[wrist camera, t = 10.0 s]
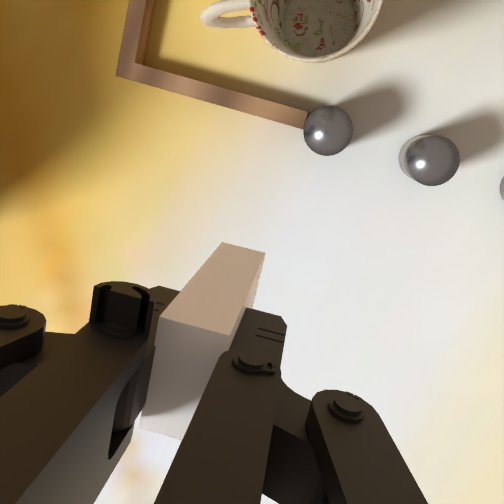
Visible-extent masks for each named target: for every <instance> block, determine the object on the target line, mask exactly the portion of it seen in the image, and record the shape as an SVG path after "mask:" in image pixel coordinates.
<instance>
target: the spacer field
mask: <svg viewBox="0 0 504 504" xmlns="http://www.w3.org/2000/svg"><path fill="white" fill-rule="evenodd" d="M352 131H353V129H352V123H351V120H350V118H349V116H348V115H347V114H346V113H345V112H344V111H343V110H342V109H340V108H338V107H335V106H323V107H320V108H318V109H316V110H315V111H313V112H312V113H311V114H310V115H309V117H308V118H307V120H306V122H305V125H304V138H305V141H306V143H307V145H308V147H309V148H310V149H311V150H312V151H314V152H315V153H317V154H320V155H324V156H330V155H335V154H337V153H339V152H341V151H342V150H343V149H345V148H346V146H347V145H348V144H349V142H350V140H351V137H352ZM459 162H460V156H459V151H458V149H457V147H456V146H455V144H454V143H453V142H452V141H450V140H449V139H447V138H445V137H442V136H430V135H420V136H415V137H413V138H411V139H409V140H408V141H407V142H406V143H405V144H404V145H403V147H402V148H401V150H400V153H399V164H400V167H401V169H402V171H403V172H404V173H405V174H406V175H407V176H409V177H411V178H412V179H414V180H416V181H417V182H419V183H421V184H423V185H427V186H437V185H441V184H443V183H445V182H447V181H448V180H450V179H451V178H452V177H453V176H454V174H455V173H456V171H457V169H458V167H459ZM500 194H501V197H502V199H503V200H504V177H503V179H502V181H501V184H500Z"/></svg>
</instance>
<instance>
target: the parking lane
mask: <svg viewBox="0 0 504 504" xmlns="http://www.w3.org/2000/svg"><path fill="white" fill-rule="evenodd" d="M154 4H155V0H129V5H128V10H127V16H126V21H125V27H124V32H123V38H122V44H121V49H120V55H119V60H118V66H117V72H116V76H119V77H122V78H126V79H129V80H133V81H136V82H140V83H143V84H147V85H150V86H154V87H157V88H161V89H164V90H168V91H171V92H175V93H178V94H182V95H185V96H189V97H192V98H196V99H199V100H203V101H206V102H210V103H213V104H217V105H220V106H224V107H227V108H231V109H234V110H238V111H241V112H245V113H248V114H252V115H255V116H259V117H262V118H266V119H269V120H273V121H276V122H280V123H283V124H287V125H290V126H294V127H297V128H301V129H304V125H305V122H306V120H307V118H308V114H309V112H307V111H303V110H300V109H296V108H293V107H289V106H286V105H282V104H278V103H275V102H271V101H268V100H264V99H261V98H257V97H254V96H250V95H247V94H243V93H240V92H236V91H232V90H229V89H225V88H222V87H218V86H215V85H211V84H208V83H204V82H201V81H197V80H194V79H190V78H187V77H183V76H179V75H176V74H172V73H169V72H165V71H162V70H158V69H155V68H151V67H148V66H144V65H143V61H144V56H145V51H146V46H147V41H148V36H149V30H150V25H151V20H152V15H153V10H154Z"/></svg>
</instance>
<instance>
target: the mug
mask: <svg viewBox="0 0 504 504" xmlns="http://www.w3.org/2000/svg"><path fill="white" fill-rule="evenodd" d="M382 4H383V0H222V1H219V2H216V3H214V4H212V5H210V6H208V7H207V8H205V9H204V10H203V11H202V13H201V15H200V19H201V21H202V22H203V23H204V24H205V25H207V26H210V27H215V28H247V27H252V26H256V28H257V29H258V31H259V33H260V34H261V36H262V37H263V38H264V40H265V41H266V42H267V43H268V44H269V45H270V46H271V47H272V48H273V49H275V50H276V51H277V52H279V53H280V54H282V55H284V56H286V57H288V58H290V59H293V60H296V61H300V62H307V63H323V62H327V61H330V60H333V59H335V58H337V57H339V56H341V55H343V54H345V53H347V52H348V51H350V50H351V49H353V48H354V47H355V46H356V45H357V44H358V43H359V42H361V41H362V39H363V38H364V37H365V36H366V35H367V34H368V32H369V31H370V30H371V28H372V26H373V25H374V23H375V21H376V19H377V17H378V15H379V13H380V10H381V7H382ZM245 9H250V12H251V16H239V17H230V18H227V17H219V16H221V15H222V14H225V13H228V12H233V11H238V10H245Z"/></svg>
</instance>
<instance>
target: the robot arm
mask: <svg viewBox="0 0 504 504" xmlns="http://www.w3.org/2000/svg"><path fill="white" fill-rule="evenodd" d="M264 257H265V253H263V252H259V251H255V250H251V249H247V248H243V247H239V246H235V245H231V244H227V243H223V242H222V243H221V244H220V246H219V247H218V248H217V249H216V250H215V251H214V253H213V254H212V255H211V256H210V257H209V258H208V260H207V261H206V262H205V263H204V264H203V266H202V267H201V268H200V269H199V270H198V271H197V273H196V274H195V275H194V276H193V277H192V279H191V280H190V281H189V282H188V283H187V284H186V286H185V287H184V288H183V289H182V290H181V291H177V290H173V289H169V288H165V287H162V286H157V287H153V288H150V289H148V288H146V287H143V286H141V285H138V284H134V283H128V282H117V281H111V282H104V283H100V284H98V285H95V286H94V289H93V297H92V304H91V311H90V319H89V322H88V323H87V324H86V325H85V326H84V327H82V328H81V329H80V330H79V331H78V332H77V333H75V334H65V333H54V332H45V328H46V319H45V317H44V315H43V314H42V313H40V312H38V311H37V310H35V309H31V308H28V307H26V306H22V305H19V306H17V305H12V304H11V305H7V306H0V504H94V502H95V500H96V499H97V497H98V495H99V494H100V492H101V490H102V489H103V487H104V485H105V484H106V482H107V480H108V478H109V477H110V475H111V473H112V472H113V470H114V468H115V467H116V465H117V463H118V462H119V460H120V458H121V457H122V455H123V453H124V452H125V450H126V448H127V447H128V445H129V443H130V441H131V437H132V433H133V428H134V422H135V419H136V418H137V416H138V415H139V413H140V412H141V410H142V414H141V420H140V425H139V428H142V429H145V430H149V431H152V432H156V433H159V434H163V435H166V436H170V437H173V438H177V439H180V440H182V442H181V444H180V446H179V448H178V451H177V453H176V455H175V457H174V460H173V462H172V464H171V466H170V469H169V471H168V473H167V475H166V478H165V480H164V482H163V484H162V487H161V489H160V491H159V493H158V496H157V498H156V500H155V502H154V504H260V501H261V495H262V494H264V495H265V496H267V497H269V498H271V499H272V500H274V501H276V502H277V503H279V504H428V503H427V501H426V499H425V497H424V495H423V494H422V492H421V490H420V488H419V486H418V485H417V483H416V481H415V479H414V477H413V476H412V474H411V472H410V470H409V468H408V466H407V465H406V463H405V461H404V459H403V457H402V456H401V454H400V452H399V450H398V448H397V447H396V445H395V443H394V441H393V439H392V438H391V436H390V434H389V432H388V430H387V429H386V427H385V425H384V423H383V421H382V419H381V418H380V416H379V414H378V413H377V412H376V411H375V409H374V408H373V407H372V406H371V405H370V404H368V403H367V402H365V401H364V400H363V399H362V398H360V397H358V396H356V395H353V394H352V393H349V392H343V391H339V390H323V391H320V392H317V393H316V394H315V395H314V397H313V398H312V401H311V400H308V399H306V398H304V397H302V396H301V395H299V394H297V393H295V392H294V391H293V390H291V389H290V388H289V387H287V385H286V384H285V383H284V382H283V381H282V379H281V370H280V365H281V359H282V353H283V347H284V341H285V335H286V329H287V325H286V324H285V322H284V320H283V319H282V317H281V316H277V315H273V314H270V313H266V312H262V311H258V310H254V309H252V307H253V303H254V298H255V294H256V290H257V286H258V282H259V278H260V273H261V269H262V265H263V261H264ZM142 408H143V409H142Z"/></svg>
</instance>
